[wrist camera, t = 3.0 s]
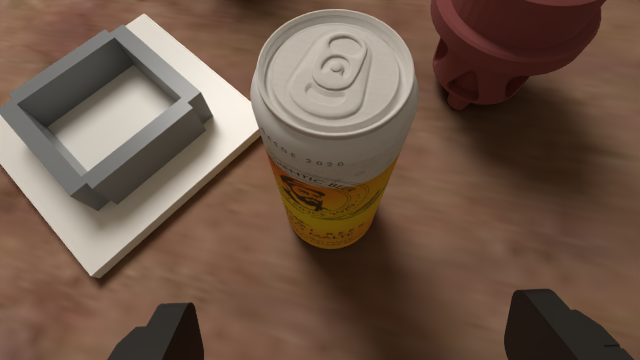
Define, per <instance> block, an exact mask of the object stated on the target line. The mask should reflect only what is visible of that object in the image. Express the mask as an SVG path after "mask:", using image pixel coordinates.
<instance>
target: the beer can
mask: <svg viewBox="0 0 640 360" xmlns="http://www.w3.org/2000/svg"><path fill="white" fill-rule="evenodd" d="M418 101H419V90H418V83H417V79H416V75H415V73H414V64H413V60H412V56H411V54H410V51H409V49H408V47H407V46H406V44H405V42H404V41H403V40H402V38H401V37H400V36H399V35H398V34H397V33H396V32H395V31H394V30H393V29H392V28H391V27H389V26H388V25H386V24H385V23H383V22H382V21H380V20H378V19H376V18H374V17H372V16H369V15H367V14H363V13H360V12H356V11H351V10H343V9H328V10H319V11H314V12H310V13H307V14H304V15H301V16H298V17H296V18H294V19H292V20H290V21H288V22H287V23H285V24H284V25H282V26H281V27H280V28H278V29H277V30H276V31H275V32H274V33H273V34H272V35H271V36H270V37H269V39H268V40H267V41H266V43H265V44H264V46H263V48H262V50H261V52H260V55H259V58H258V62H257V68H256V71H255V73H254V76H253V79H252V84H251V104H252V109H253V112H254V116H255V119H256V122H257V125H258V128H259V131H260V134H261V137H262V140H263V143H264V146H265V149H266V152H267V155H268V158H269V161H270V164H271V167H272V170H273V174H274V177H275V180H276V183H277V186H278V189H279V192H280V195H281V198H282V201H283V204H284V207H285V210H286V213H287V216H288V219H289V222H290V224H291V226H292V228H293V229H294V231H295V232H296V233H297V235H298V236H300V237H301V238H302V239H303V240H304V241H306V242H308V243H309V244H311V245H314V246H316V247H320V248H325V249H337V248H342V247H345V246H348V245H350V244H352V243H354V242H356V241H357V240H358V239H360V238H361V237H362V236H363V235H364V234H365V233H366V231H367V230H368V228H369V227H370V225H371V223H372V220H373V218H374V216H375V213H376V211H377V208H378V206H379V203H380V201H381V198H382V196H383V193H384V191H385V188H386V186H387V183H388V181H389V179H390V176H391V174H392V171H393V169H394V166H395V164H396V161H397V159H398V156H399V154H400V151H401V149H402V146H403V144H404V142H405V139H406V137H407V134H408V132H409V129H410V127H411V124H412V122H413V119H414V117H415V114H416V111H417V107H418Z"/></svg>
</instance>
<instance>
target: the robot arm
mask: <svg viewBox="0 0 640 360" xmlns="http://www.w3.org/2000/svg"><path fill="white" fill-rule="evenodd" d="M504 345H505V351H506V355H507V357H508V360H634V359H633V358H632V357H631V356H630V355H629V354H628V353H627V352H626V351H625V350H624V349H621V348H620V346H619V345H620V344H619V343H618V342H617V341H616V340H615V339H614V338H613V337H612V336H611V335H610V334H609V333H608V332H607V331H606V330H605V329H604V328H603V327H602V326H601V325H599V324H598V323H596V322H595V321H593V320H592V319H590V318H589V317H587V316H586V315H584V314H582V313H581V312H579V311H578V310H570V309H569V307H568V306H567V305H566V304H565V303H564V302H563V301H562V300H561V299H560V298H559V297H558V296H557V294H556V293H555V292H553V291H552V290H550V289H529V290H516V291H515V292H514V293H513V296H512V300H511V305H510V310H509V315H508V320H507V325H506V330H505V335H504ZM108 360H204V348H203V343H202V338H201V334H200V329H199V324H198V319H197V314H196V310H195V306H194V304H193V303H168V304H160V305H159V306H158V307H157V309H156V310H155V312H154V314H153V316H152V317H151V319H150V321H149V323H148V324H147V326H145V327H136V328H135V329H133V330H132V331H131V332H130V333H129V334H128V335H127V336H126V337H125V338H123V339H122V340H121V341H120V342H119V343H118V344H117V345H116V347H115V348H114V350H113V352H112V353H111V355H110V356H109V358H108Z"/></svg>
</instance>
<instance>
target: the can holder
mask: <svg viewBox="0 0 640 360" xmlns="http://www.w3.org/2000/svg"><path fill="white" fill-rule="evenodd" d="M8 95H9V96H10V97H11V98H12V100H10V101H9V102H8V103H6V104H5V105H3V106H2V107H0V164H1V165H2V166H3V168H4V169H5V170H6V171H7V173H8V174H9V175H10V176H11V178H12V179H13V180H14V181H15V183H16V184H17V185H18V186H19V188H20V189H21V190H22V191H23V193H24V194H25V195H26V196H27V198H28V199H29V200H30V201H31V203H32V204H33V205H34V206H35V207H36V209H37V210H38V211H39V212H40V214H41V215H42V216H43V217H44V219H45V220H46V221H47V222H48V224H49V225H50V226H51V227H52V229H53V230H54V231H55V232H56V234H57V235H58V236H59V237H60V239H61V240H62V241H63V242H64V244H65V245H66V246H67V247H68V249H69V250H70V251H71V252H72V253H73V255H74V256H75V257H76V258H77V260H78V261H79V262H80V263H81V265H82V266H83V267H84V268H85V270H86V271H87V272H88V273H89V275H90V276H92V277H96V278H101V277H102V276H103V275H104V274H105V273H107V272H108V271H109V270H110V269H111V268H112V267H113V266H114V265H116V264H117V263H118V262H119V261H120V260H121V259H122V258H123V257H125V256H126V255H127V254H128V253H129V252H130V251H131V250H132V249H134V248H135V247H136V246H137V245H138V244H139V243H140V242H141V241H143V240H144V239H145V238H146V237H147V236H148V235H149V234H150V233H152V232H153V231H154V230H155V229H156V228H157V227H158V226H159V225H161V224H162V223H163V222H164V221H165V220H166V219H167V218H168V217H170V216H171V215H172V214H173V213H174V212H175V211H176V210H177V209H179V208H180V207H181V206H182V205H183V204H184V203H185V202H186V201H188V200H189V199H190V198H191V197H192V196H193V195H194V194H195V193H197V192H198V191H199V190H200V189H201V188H202V187H203V186H204V185H206V184H207V183H208V182H209V181H210V180H211V179H212V178H213V177H215V176H216V175H217V174H218V173H219V172H220V171H221V170H222V169H224V168H225V167H226V166H227V165H228V164H229V163H230V162H231V161H233V160H234V159H235V158H236V157H237V156H238V155H239V154H240V153H242V152H243V151H244V150H245V149H246V148H247V147H248V146H249V145H251V144H252V143H253V142H254V141H255V140H256V139H257V138H258V137H260V136H261V134H260V131H259V128H258V125H257V122H256V119H255V116H254V112H253V109H252V104H251V102H250V101H249V100H248V99H247V98H245V97H244V96H243V95H242V94H241V93H239V92H238V91H237V90H236V89H234V88H233V87H232V86H231V85H230V84H228V83H227V82H226V81H225V80H224V79H222V78H221V77H220V76H219V75H218V74H216V73H215V72H214V71H213V70H212V69H210V68H209V67H208V66H207V65H206V64H204V63H203V62H202V61H201V60H200V59H198V58H197V57H196V56H195V55H194V54H192V53H191V52H190V51H189V50H188V49H186V48H185V47H184V46H183V45H182V44H180V43H179V42H178V41H177V40H176V39H174V38H173V37H172V36H171V35H170V34H168V33H167V32H166V31H165V30H163V29H162V28H161V27H160V26H159V25H157V24H156V23H155V22H154V21H153V20H151V19H150V18H149V17H148V16H147V15H145V14H143V15H141V16H140V17H138V18H137V19H135V20H134V21H132V22H131V23H129V24H128V25H126V26H124V25H121V26H120V27H118V28H117V29H115V30H114V31H112V32H111V33H109V32H108V31H107V30H103V31H102V32H100V33H99V34H97V35H96V36H94V37H93V38H91V39H90V40H88V41H87V42H85V43H84V44H82V45H81V46H79V47H78V48H76V49H75V50H73V51H72V52H70V53H69V54H67V55H66V56H64V57H63V58H61V59H60V60H58V61H57V62H55V63H54V64H53V65H51V66H50V67H48V68H47V69H45V70H44V71H42V72H41V73H39V74H38V75H36V76H35V77H33V78H32V79H30V80H29V81H27V82H26V83H24V84H23V85H21V86H20V87H18V88H17V89H15V90H14V91H12V92H11V93H9V94H8Z"/></svg>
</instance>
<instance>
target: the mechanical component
mask: <svg viewBox="0 0 640 360" xmlns="http://www.w3.org/2000/svg"><path fill="white" fill-rule="evenodd" d="M605 1H606V0H431V16H432V21H433V24H434V26H435V28H436V31H437V32H438V34H439V35H440V37H441V38H440V41H439V43H438V46H437V48H436V51H435V54H434V57H433V70H434V73H435V76H436V78H437V80H438V81H439V83H440V84H441V85H442V86H443V87H444V89H445V90H447V91H448V92H449V95H448V98H447V102H448V104H449V105H450V106H451V107H452V108H454V109H458V110H461V109H464V108H466V107H467V106H468V105H469V103H473V104H481V105H490V104H496V103H500V102H503V101H506V100H508V99H509V98H511V97H512V96H514V95H515V94H516V93H517V92H518V91H519V89H520V88H521V87H522V85H523V84H524V83H525V82H526V80H527V79H528V78H529V77H530V76H534V75H540V74H546V73H549V72H552V71H555V70H558V69H560V68H562V67H564V66H566V65H567V64H569V63H570V62H572V61H573V60H574V59H575V58H576V57H577V56H578V55H579V54H580V53H581V52H582V51H583V50H584V48H585V47H586V46H587V45H588V44H589V43H590V42H591V41H592V39H593V38H594V37H595V35H596V33H597V31H598V29H599V26H600V22H601V6H602V5H603V3H604V2H605Z"/></svg>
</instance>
